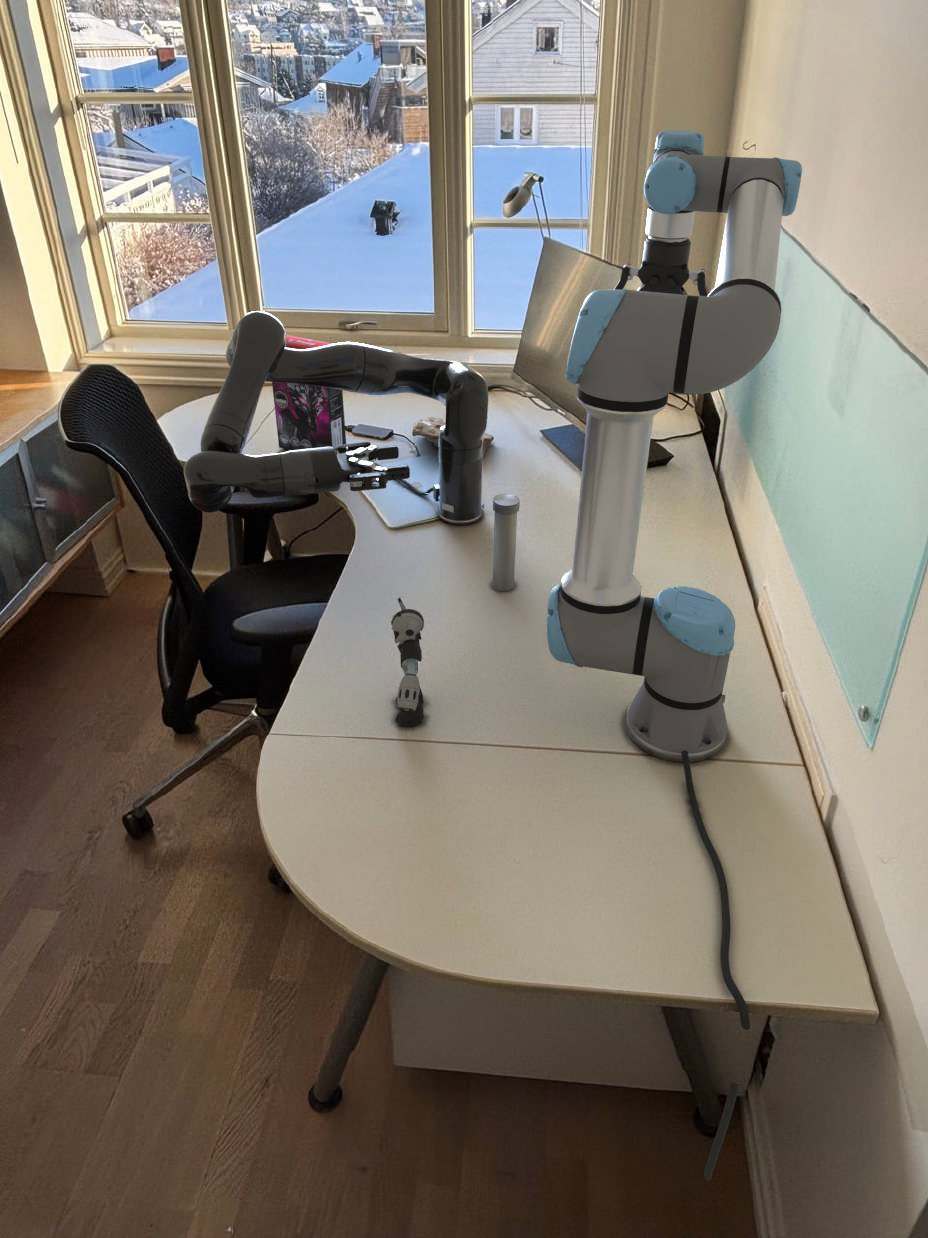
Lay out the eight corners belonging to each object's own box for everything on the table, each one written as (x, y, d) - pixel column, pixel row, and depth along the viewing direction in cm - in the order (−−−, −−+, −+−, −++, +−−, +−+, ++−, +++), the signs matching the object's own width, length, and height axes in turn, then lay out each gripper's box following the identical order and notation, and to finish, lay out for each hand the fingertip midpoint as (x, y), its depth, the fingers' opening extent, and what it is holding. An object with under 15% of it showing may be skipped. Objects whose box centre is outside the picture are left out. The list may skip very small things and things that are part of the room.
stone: (396, 441, 228) (401, 417, 225) (415, 432, 241) (420, 409, 239) (476, 465, 224) (482, 442, 222) (491, 455, 237) (496, 432, 235)
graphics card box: (276, 448, 231) (264, 340, 216) (293, 439, 236) (282, 332, 221) (333, 462, 225) (324, 351, 209) (349, 452, 230) (341, 343, 214)
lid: (487, 507, 169) (487, 497, 168) (508, 500, 172) (509, 491, 171) (503, 517, 166) (503, 507, 165) (524, 510, 168) (525, 501, 167)
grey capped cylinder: (488, 584, 179) (490, 500, 169) (505, 578, 181) (508, 494, 171) (500, 593, 176) (503, 508, 166) (518, 587, 178) (522, 503, 168)
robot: (426, 751, 138) (424, 643, 127) (394, 752, 138) (389, 643, 127) (424, 672, 155) (422, 570, 143) (395, 673, 154) (391, 570, 143)
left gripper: (305, 474, 162) (395, 464, 166) (317, 510, 151) (413, 499, 154) (301, 434, 158) (394, 425, 162) (313, 467, 146) (412, 457, 150)
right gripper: (746, 237, 151) (725, 364, 163) (595, 227, 157) (585, 351, 169) (746, 247, 145) (723, 378, 157) (589, 236, 151) (579, 364, 163)
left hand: (403, 461), depth 158 cm, fingers open, 8 cm apart
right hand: (652, 364), depth 163 cm, fingers open, 13 cm apart
